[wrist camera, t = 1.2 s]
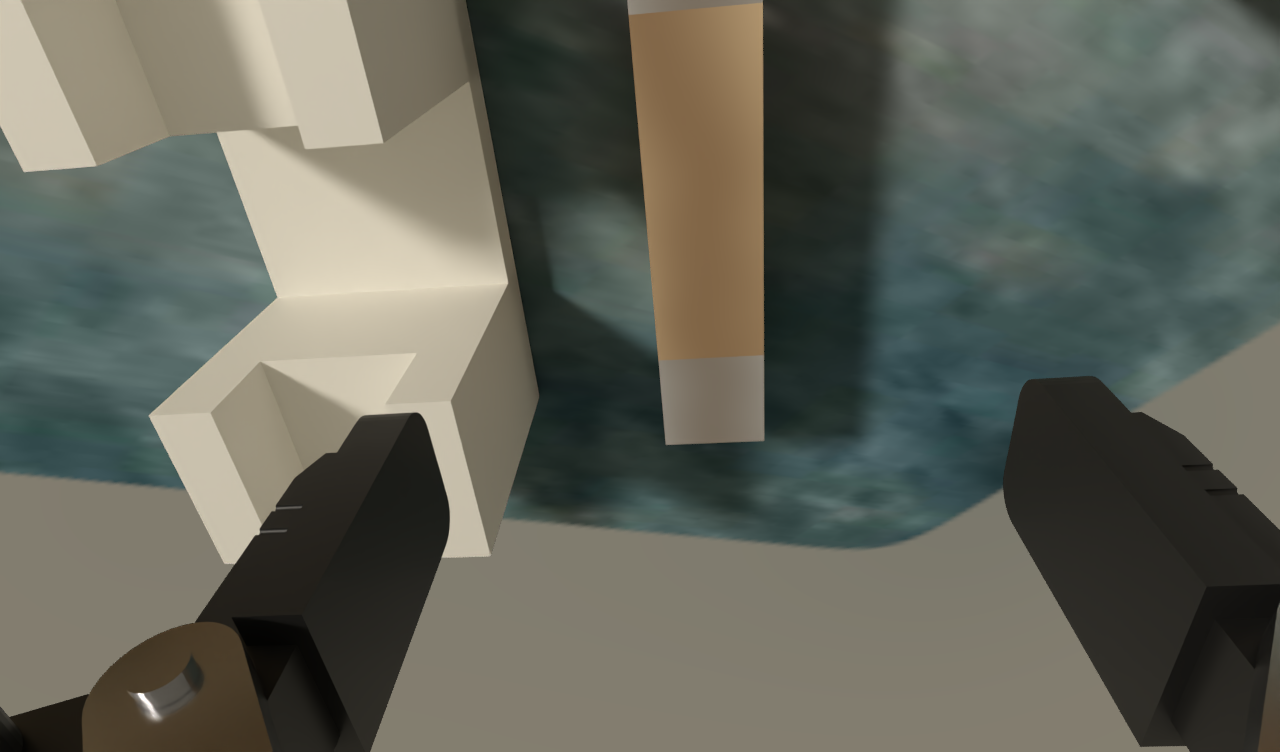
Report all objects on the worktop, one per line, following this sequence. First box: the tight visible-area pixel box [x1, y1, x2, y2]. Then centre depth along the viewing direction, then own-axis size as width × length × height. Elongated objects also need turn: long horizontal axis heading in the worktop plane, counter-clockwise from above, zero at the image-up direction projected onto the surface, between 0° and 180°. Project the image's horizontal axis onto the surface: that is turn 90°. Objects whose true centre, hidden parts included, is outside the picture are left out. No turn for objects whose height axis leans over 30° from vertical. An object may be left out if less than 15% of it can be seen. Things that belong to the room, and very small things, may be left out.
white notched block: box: [0, 0, 539, 564], centre depth 20 cm, size 8×16×8 cm, turn 5°
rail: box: [627, 0, 764, 445], centre depth 21 cm, size 3×15×4 cm, turn 5°
